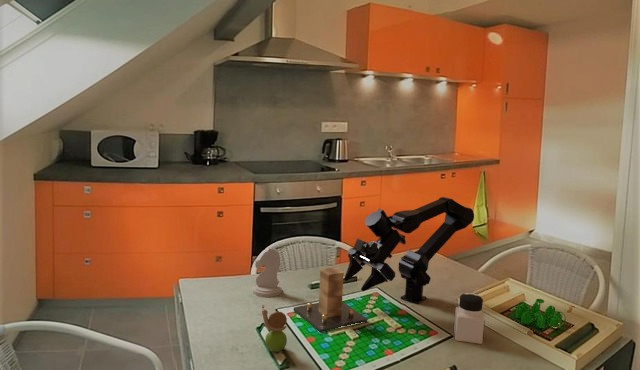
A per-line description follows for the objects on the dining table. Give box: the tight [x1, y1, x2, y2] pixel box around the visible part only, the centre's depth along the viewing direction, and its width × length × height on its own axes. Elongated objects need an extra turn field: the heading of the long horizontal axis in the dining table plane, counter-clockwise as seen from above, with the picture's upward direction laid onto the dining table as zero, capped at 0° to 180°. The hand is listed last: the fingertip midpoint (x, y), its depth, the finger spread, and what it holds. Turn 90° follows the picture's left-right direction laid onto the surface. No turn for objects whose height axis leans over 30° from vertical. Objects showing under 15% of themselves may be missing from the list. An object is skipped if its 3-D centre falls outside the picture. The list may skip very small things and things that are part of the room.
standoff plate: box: [293, 301, 368, 333], centre depth 143 cm, size 16×16×3 cm
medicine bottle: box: [453, 292, 486, 345], centre depth 133 cm, size 7×7×12 cm
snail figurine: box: [261, 304, 288, 353], centre depth 121 cm, size 5×6×12 cm
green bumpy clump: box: [511, 298, 567, 329], centre depth 145 cm, size 15×15×7 cm
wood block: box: [318, 266, 345, 318], centre depth 142 cm, size 5×5×13 cm
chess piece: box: [251, 247, 283, 298], centre depth 159 cm, size 10×10×15 cm
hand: (353, 285), depth 146 cm, fingers open, 9 cm apart
